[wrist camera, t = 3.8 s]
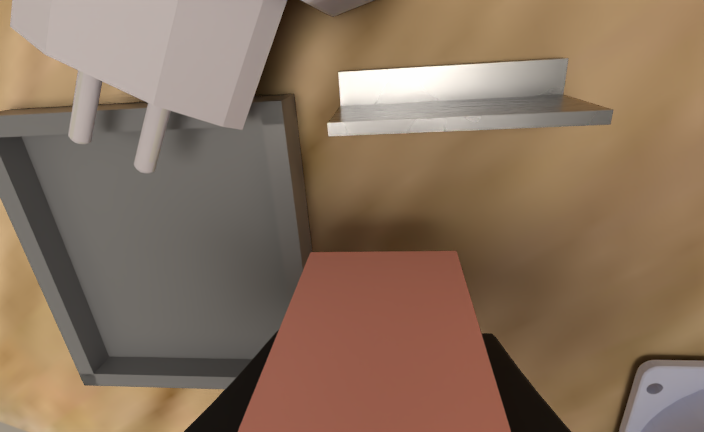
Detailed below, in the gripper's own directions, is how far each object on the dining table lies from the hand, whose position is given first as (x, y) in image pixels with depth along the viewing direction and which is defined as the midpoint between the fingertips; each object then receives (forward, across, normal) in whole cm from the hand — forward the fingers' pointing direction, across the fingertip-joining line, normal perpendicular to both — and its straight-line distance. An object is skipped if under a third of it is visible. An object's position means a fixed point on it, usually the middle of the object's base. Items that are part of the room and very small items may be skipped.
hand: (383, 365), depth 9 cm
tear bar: (+5, -2, -5) cm, 7 cm away
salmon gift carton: (+2, 0, 0) cm, 2 cm away
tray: (+5, +7, -1) cm, 9 cm away
